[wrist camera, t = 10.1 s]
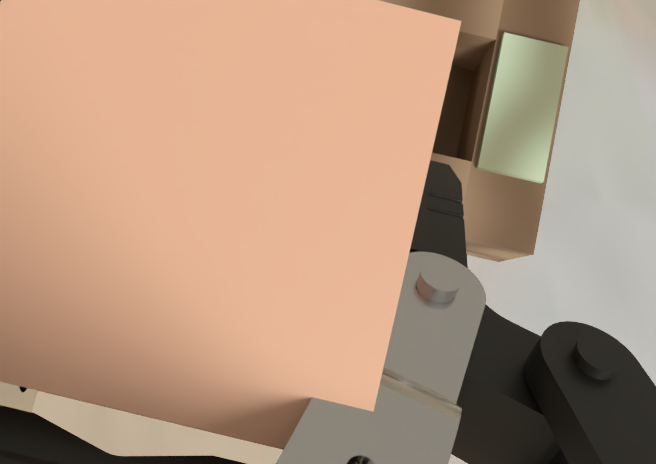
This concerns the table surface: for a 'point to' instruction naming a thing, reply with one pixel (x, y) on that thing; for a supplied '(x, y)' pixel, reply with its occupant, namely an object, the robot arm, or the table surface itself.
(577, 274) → the table surface
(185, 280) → the peg
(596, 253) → the table surface
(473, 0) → the slot holder
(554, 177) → the table surface
